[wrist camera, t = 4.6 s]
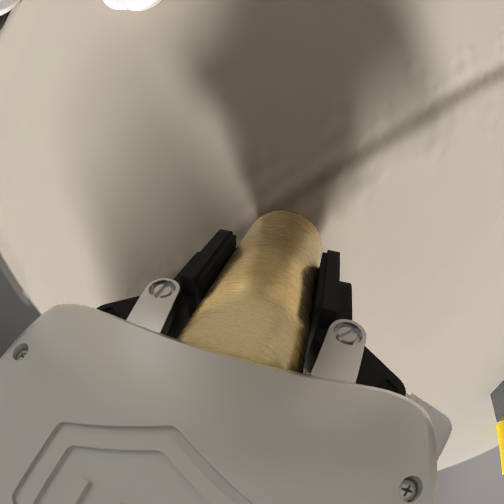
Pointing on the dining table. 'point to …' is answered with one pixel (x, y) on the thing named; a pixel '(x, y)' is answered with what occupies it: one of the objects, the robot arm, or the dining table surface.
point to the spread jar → (6, 9)
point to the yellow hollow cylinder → (501, 441)
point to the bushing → (263, 295)
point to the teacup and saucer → (132, 4)
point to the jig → (498, 402)
